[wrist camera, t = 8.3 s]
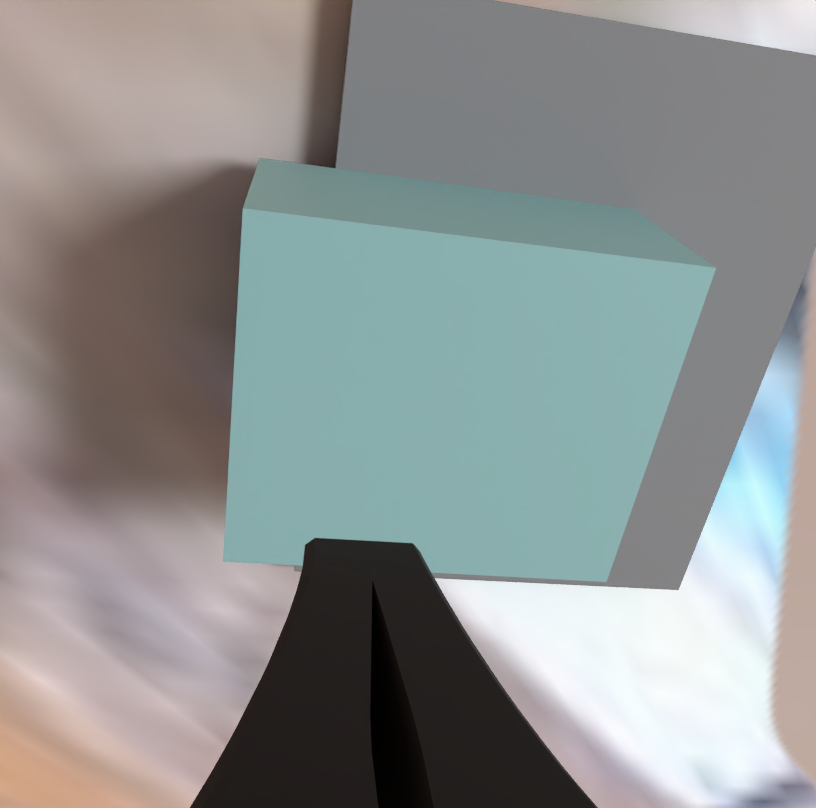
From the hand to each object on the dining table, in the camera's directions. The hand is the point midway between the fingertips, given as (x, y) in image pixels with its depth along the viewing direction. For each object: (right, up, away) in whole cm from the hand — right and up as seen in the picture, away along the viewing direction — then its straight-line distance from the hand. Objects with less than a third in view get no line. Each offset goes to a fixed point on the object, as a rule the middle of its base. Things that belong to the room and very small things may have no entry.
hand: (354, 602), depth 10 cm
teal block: (-3, +3, +6) cm, 7 cm away
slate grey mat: (+4, +4, +9) cm, 11 cm away
